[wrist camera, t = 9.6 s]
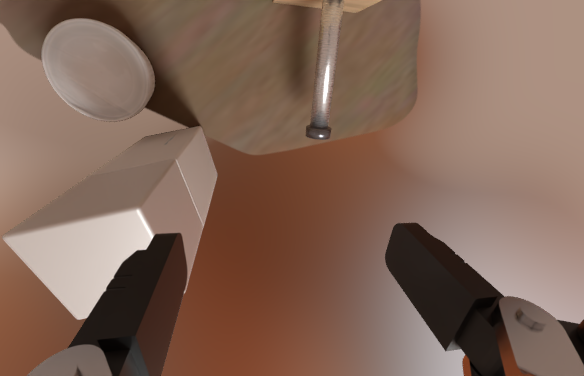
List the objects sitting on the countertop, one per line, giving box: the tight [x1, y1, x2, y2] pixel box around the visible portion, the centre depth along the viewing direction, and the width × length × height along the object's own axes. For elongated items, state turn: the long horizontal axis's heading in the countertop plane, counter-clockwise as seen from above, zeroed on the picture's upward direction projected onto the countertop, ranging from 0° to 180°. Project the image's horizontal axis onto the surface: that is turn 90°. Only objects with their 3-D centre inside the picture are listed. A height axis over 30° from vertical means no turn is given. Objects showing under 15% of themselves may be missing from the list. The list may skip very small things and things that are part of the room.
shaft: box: [306, 0, 344, 139], centre depth 29 cm, size 19×3×3 cm, turn 176°
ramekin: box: [41, 18, 155, 122], centre depth 31 cm, size 11×11×5 cm
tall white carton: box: [2, 126, 217, 319], centre depth 29 cm, size 9×9×25 cm
